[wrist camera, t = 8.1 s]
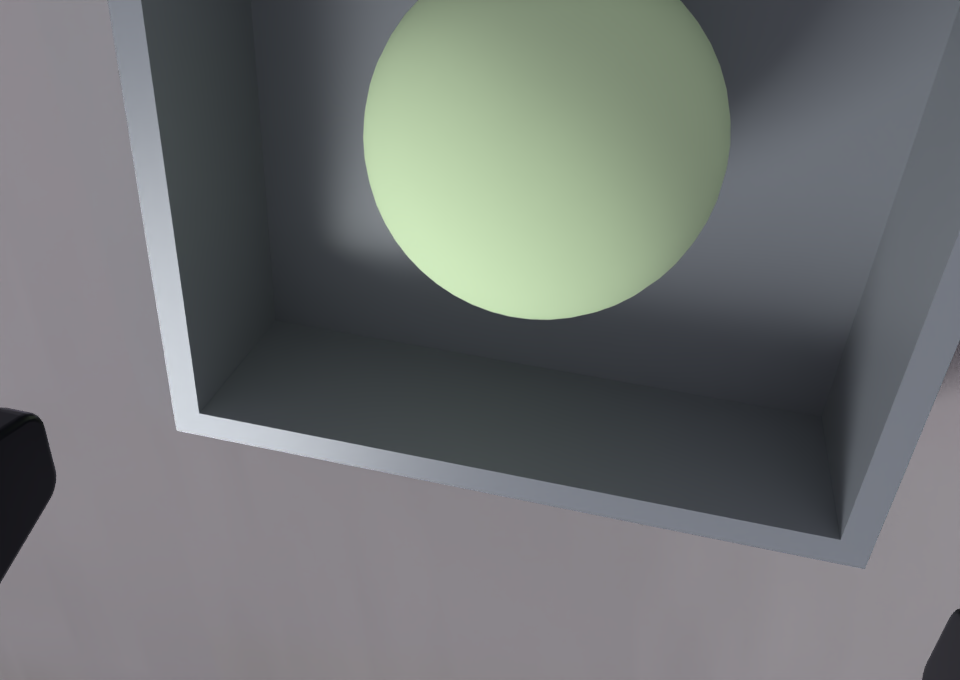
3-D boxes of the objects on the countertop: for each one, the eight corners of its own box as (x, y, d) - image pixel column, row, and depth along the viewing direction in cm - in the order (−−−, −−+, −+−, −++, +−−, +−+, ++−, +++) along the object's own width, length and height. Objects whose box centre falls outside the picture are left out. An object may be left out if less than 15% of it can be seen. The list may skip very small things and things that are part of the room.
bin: (1108, -342, 13) (1260, -387, 9) (839, 426, 21) (864, 569, 17) (204, -383, 15) (38, -433, 12) (265, 324, 23) (176, 430, 19)
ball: (771, -60, 15) (771, 15, 10) (701, 255, 19) (676, 425, 14) (434, -96, 16) (291, -47, 11) (424, 205, 20) (309, 346, 15)
